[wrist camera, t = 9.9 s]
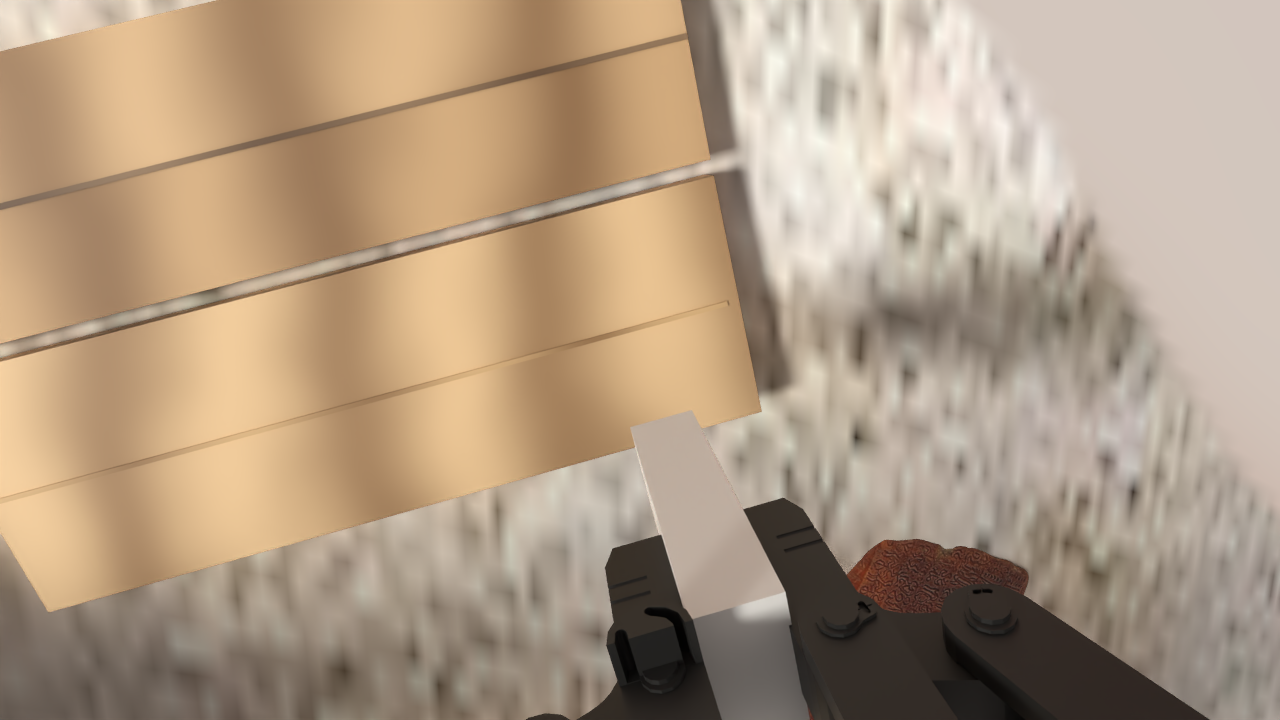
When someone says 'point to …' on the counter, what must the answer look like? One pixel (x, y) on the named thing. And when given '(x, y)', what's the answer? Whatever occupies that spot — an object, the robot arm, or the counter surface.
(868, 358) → the counter surface
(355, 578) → the counter surface
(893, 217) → the counter surface
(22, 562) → the plank
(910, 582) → the wooden tablet
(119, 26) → the laid boards
